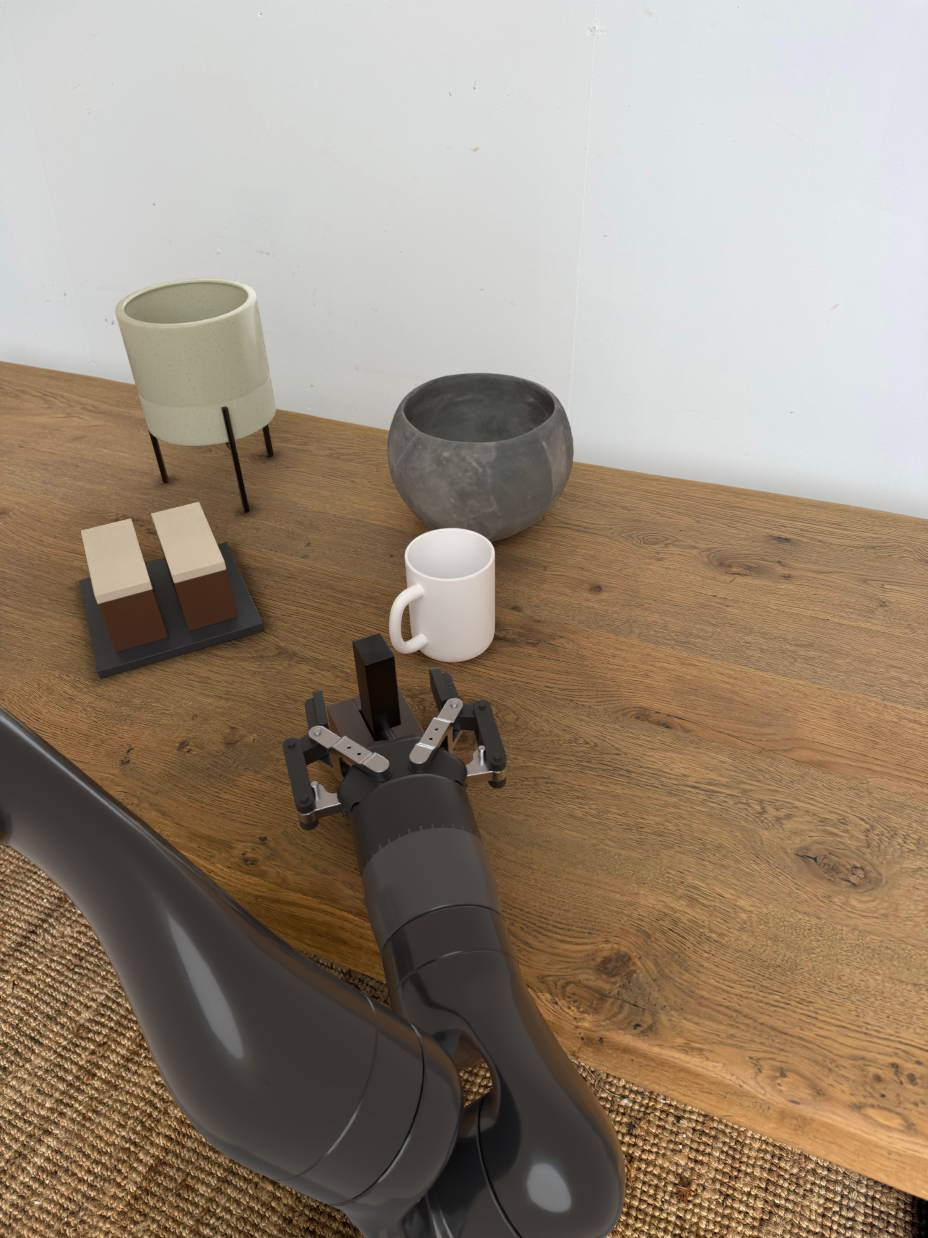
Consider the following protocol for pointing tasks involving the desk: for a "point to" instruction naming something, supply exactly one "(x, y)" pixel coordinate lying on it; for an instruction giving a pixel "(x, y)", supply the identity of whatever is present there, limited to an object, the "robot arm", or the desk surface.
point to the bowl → (480, 453)
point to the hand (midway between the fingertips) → (376, 686)
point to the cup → (447, 596)
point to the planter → (199, 364)
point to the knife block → (354, 725)
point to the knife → (377, 685)
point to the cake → (162, 592)
